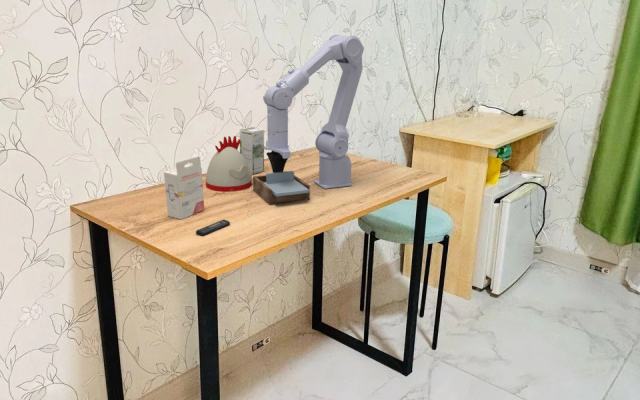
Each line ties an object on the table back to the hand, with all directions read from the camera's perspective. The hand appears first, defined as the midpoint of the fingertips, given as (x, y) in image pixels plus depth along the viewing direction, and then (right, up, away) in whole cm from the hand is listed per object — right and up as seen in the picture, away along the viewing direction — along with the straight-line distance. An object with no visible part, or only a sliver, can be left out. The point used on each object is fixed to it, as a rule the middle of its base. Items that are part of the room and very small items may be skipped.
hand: (277, 176), depth 150 cm
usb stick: (-13, -14, -26) cm, 32 cm away
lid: (+2, -3, -5) cm, 6 cm away
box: (+1, -5, 0) cm, 5 cm away
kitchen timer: (-16, -2, +8) cm, 18 cm away
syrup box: (-10, +3, +22) cm, 24 cm away
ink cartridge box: (-22, -10, -16) cm, 29 cm away
